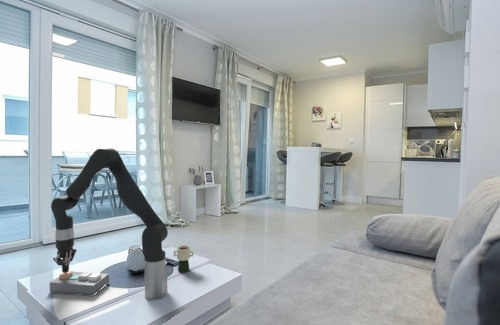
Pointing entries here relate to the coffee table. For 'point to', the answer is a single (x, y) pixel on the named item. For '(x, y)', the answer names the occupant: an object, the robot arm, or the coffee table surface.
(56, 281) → the keypad board
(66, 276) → the terracotta key
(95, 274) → the block
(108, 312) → the coffee table surface
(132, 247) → the soda can
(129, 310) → the coffee table surface
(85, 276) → the grey key
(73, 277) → the teal key
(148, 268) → the robot arm
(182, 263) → the character mug
